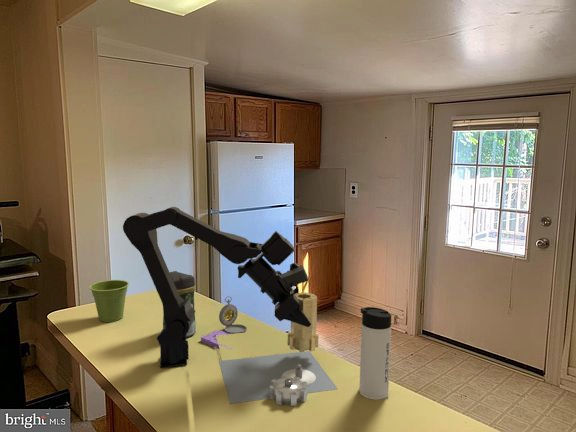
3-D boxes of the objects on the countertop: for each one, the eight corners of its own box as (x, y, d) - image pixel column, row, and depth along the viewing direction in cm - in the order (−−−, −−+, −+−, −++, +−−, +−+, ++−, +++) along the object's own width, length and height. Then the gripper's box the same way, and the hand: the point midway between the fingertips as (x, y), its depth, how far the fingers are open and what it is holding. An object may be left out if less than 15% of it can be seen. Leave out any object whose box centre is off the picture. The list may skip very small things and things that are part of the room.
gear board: (230, 409, 90) (230, 390, 89) (218, 365, 109) (218, 349, 108) (337, 393, 96) (338, 376, 96) (309, 355, 115) (309, 340, 115)
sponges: (218, 335, 129) (218, 329, 129) (249, 347, 121) (249, 340, 121) (200, 343, 124) (200, 336, 123) (230, 355, 116) (230, 349, 116)
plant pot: (85, 317, 140) (83, 284, 139) (121, 309, 148) (120, 277, 147) (98, 328, 132) (97, 292, 130) (136, 319, 140) (135, 285, 138)
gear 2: (274, 408, 88) (274, 393, 88) (265, 388, 96) (265, 374, 95) (312, 403, 90) (312, 387, 90) (300, 383, 98) (301, 369, 98)
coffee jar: (158, 333, 128) (156, 272, 126) (180, 326, 135) (179, 267, 132) (178, 342, 122) (177, 278, 120) (200, 334, 129) (199, 273, 126)
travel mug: (354, 389, 98) (357, 304, 96) (383, 389, 99) (386, 304, 96) (361, 405, 92) (365, 314, 89) (391, 404, 93) (396, 314, 90)
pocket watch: (242, 336, 127) (242, 303, 126) (215, 334, 129) (215, 301, 127) (250, 326, 135) (250, 295, 134) (225, 324, 137) (225, 293, 135)
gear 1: (292, 353, 106) (294, 302, 104) (284, 340, 113) (285, 292, 112) (322, 350, 108) (323, 300, 106) (312, 338, 115) (313, 290, 114)
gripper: (290, 264, 98) (336, 312, 100) (289, 248, 117) (328, 288, 119) (255, 297, 99) (301, 344, 101) (259, 276, 118) (298, 315, 119)
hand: (309, 320), depth 110 cm, fingers closed on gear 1, 6 cm apart
